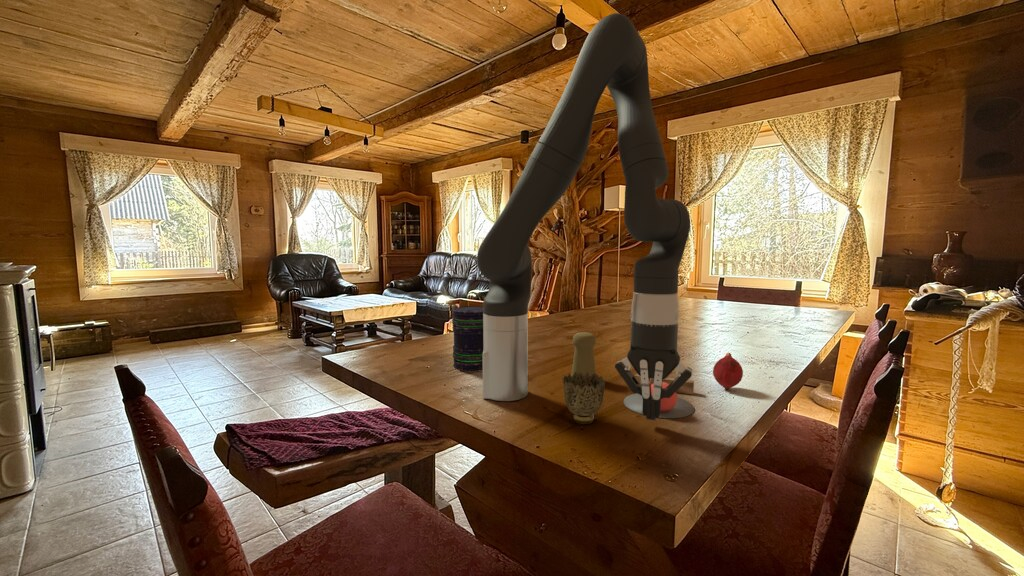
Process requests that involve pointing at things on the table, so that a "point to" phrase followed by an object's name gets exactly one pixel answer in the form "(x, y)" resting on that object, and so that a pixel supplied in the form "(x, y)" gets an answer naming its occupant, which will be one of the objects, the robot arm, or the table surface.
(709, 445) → the table surface
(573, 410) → the cup
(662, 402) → the ball
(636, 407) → the gray disc
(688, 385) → the stopper rail
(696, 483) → the table surface
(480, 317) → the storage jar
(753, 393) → the table surface
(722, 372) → the onion
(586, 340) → the pestle
